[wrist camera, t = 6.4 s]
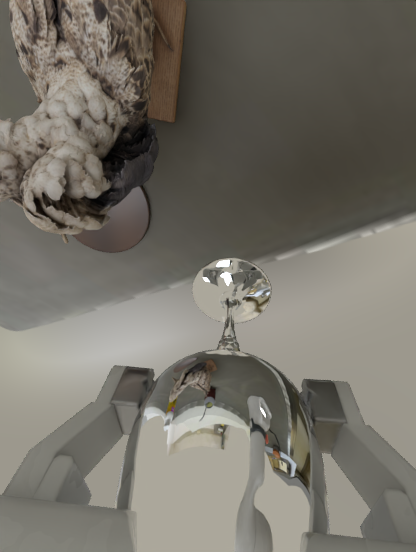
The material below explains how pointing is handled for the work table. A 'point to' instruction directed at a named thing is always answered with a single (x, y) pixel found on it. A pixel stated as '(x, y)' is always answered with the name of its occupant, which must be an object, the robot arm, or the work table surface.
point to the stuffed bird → (89, 105)
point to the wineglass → (224, 442)
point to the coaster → (121, 225)
